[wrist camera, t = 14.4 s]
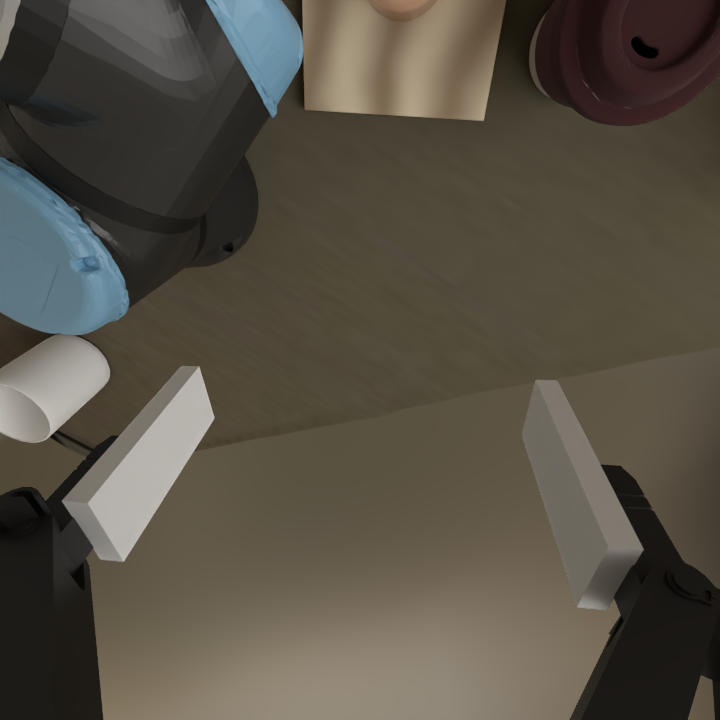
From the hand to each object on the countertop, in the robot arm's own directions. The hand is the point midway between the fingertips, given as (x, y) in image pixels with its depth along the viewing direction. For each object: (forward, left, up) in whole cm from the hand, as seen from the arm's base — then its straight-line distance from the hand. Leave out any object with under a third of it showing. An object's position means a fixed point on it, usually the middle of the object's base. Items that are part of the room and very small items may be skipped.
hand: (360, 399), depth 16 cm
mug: (-44, -24, -31) cm, 59 cm away
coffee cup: (+13, +14, -31) cm, 37 cm away
